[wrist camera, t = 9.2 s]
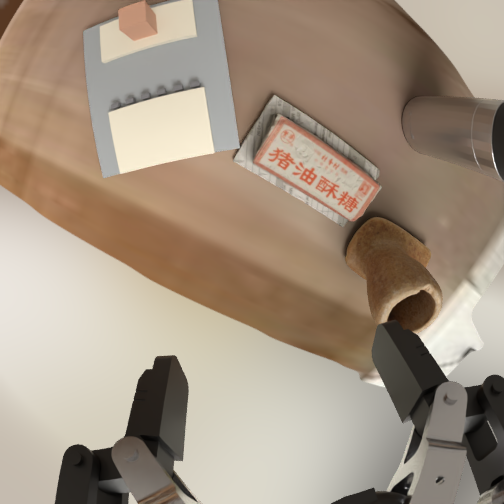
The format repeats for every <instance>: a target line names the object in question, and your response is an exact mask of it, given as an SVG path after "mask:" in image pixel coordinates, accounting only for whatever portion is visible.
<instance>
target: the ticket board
mask: <svg viewBox="0 0 504 504" xmlns="http://www.w3.org/2000/svg"><path fill="white" fill-rule="evenodd" d="M177 1H181V0H170V1H166V2H162V3H158V4H155V5H151V6H150V8H153V7H157V6H161V5H164V4H168V3H173V2H177ZM193 7H194V15H195V22H196V30H197V37H193V38H188V39H184V40H179V41H175V42H171V43H167V44H163V45H159V46H155V47H152V48H148V49H145V50H142V51H139V52H135V53H132V54H129V55H126V56H124V57H121V58H118V59H115V60H112V61H110V62H107V63H103V62H102V60H101V47H100V26H102V25H104V24H107V23H109V22H112V21H114V20H117V19H119V16H118V17H115V18H113V19H110V20H108V21H105V22H103V23H100V24H98V25H96V26H93V27H91V28H89V29H87V30H85V31H83V36H84V58H85V71H86V82H87V91H88V99H89V106H90V113H91V119H92V125H93V131H94V137H95V142H96V147H97V152H98V157H99V161H100V166H101V170H102V175H103V178H106V177H110V176H113V175H117V174H123V173H126V172H130V171H134V170H138V169H142V168H146V167H150V166H154V165H158V164H162V163H167V162H171V161H176V160H181V159H186V158H191V157H196V156H201V155H206V154H212V153H215V152H219V151H225V150H232V149H238V148H240V145H239V138H238V131H237V125H236V118H235V111H234V104H233V98H232V91H231V84H230V78H229V71H228V64H227V58H226V51H225V45H224V38H223V31H222V25H221V18H220V12H219V5H218V0H193Z"/></svg>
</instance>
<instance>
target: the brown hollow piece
mask: <svg viewBox="0 0 504 504" xmlns="http://www.w3.org/2000/svg"><path fill="white" fill-rule="evenodd" d="M430 257H431V251H430V250H429V249H428V248H427V247H426V246H425V245H424V244H422V243H421V242H420V241H419V240H418V239H416V238H415V237H413V236H412V235H410V234H409V233H408V232H406V231H405V230H403V229H402V228H401V227H399V226H397V225H396V224H394V223H392V222H391V221H389V220H387V219H384V218H380V217H373V218H370V219H369V220H367V221H366V222H365V223H364V224H363V225H362V226H361V227H360V228H359V229H358V230H357V232H356V233H355V234H354V236H353V238H352V239H351V241H350V243H349V245H348V248H347V255H346V257H345V261H346V263H347V265H348V266H349V267H350V268H351V269H352V270H353V271H354V272H356V273H357V274H358V275H360V276H361V277H362V278H364V279H366V280H367V293H368V301H369V306H370V310H371V314H372V317H373V319H374V321H375V322H376V324H377V326H378V324H381V323H385V322H388V321H392V320H397V321H398V322H399V324H400V325H401V326H402V328H403V329H404V330H406V329H409V330H411V331H412V332H414V333H415V334H416V333H419V332H421V331H423V330H424V329H426V328H427V327H429V326H430V325H431V324H432V323H433V322H434V320H435V319H436V318H437V317H438V315H439V312H440V310H441V308H442V300H443V299H442V291H441V289H440V286H439V285H438V283H437V282H436V281H435V279H434V278H433V277H432V275H431V274H430V273H429V271H428V270H427V269H426V268H425V267H426V266H427V264H428V262H429V260H430Z"/></svg>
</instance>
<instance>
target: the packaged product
mask: <svg viewBox="0 0 504 504" xmlns="http://www.w3.org/2000/svg"><path fill="white" fill-rule="evenodd" d="M233 162H235V163H237V164H239V165H241V166H242V167H244V168H246V169H247V170H249V171H251V172H253V173H255V174H256V175H258V176H260V177H262V178H263V179H265V180H267V181H269V182H270V183H272V184H274V185H276V186H277V187H279V188H281V189H282V190H284V191H286V192H288V193H289V194H291V195H292V196H294V197H296V198H297V199H299V200H302V201H304V202H305V203H306V204H307V205H309V206H311V207H312V208H313V209H315V210H317V211H318V212H320V213H322V214H323V215H325V216H327V217H328V218H330V219H331V220H333V221H334V222H336V223H337V224H339V225H340V226H342V227H344V225H345V224H346V223H347V221H348V220H349V221H352V222H353V221H356V220H357V219H358V218H359V217H361V216H363V214H364V212H365V210H366V209H367V207H368V206H369V204H370V203H371V202H372V201H373V200H374V198H375V197H376V195H377V193H378V192H379V191H380V189H381V188H382V186H381V185H380V184H379V183H378V182H377V181H376V179H377V178H378V177H379V169H378V168H377V167H376V166H374V165H373V164H372V163H371V162H369V161H368V160H367V159H366V158H364V157H363V156H362V155H361V154H359V153H358V152H357V151H356V150H354V149H353V148H352V147H350V146H349V145H348V144H346V143H345V142H344V141H343V140H341V139H340V138H339V137H337V136H336V135H335V134H333V133H332V132H330V131H329V130H328V129H326V128H325V127H323V126H322V125H320V124H319V123H317V122H316V121H314V120H313V119H311V118H310V117H309V116H307V115H306V114H304V113H303V112H301V111H299V110H298V109H296V108H295V107H293V106H292V105H290V104H289V103H287V102H285V101H283V100H282V99H280V98H279V97H277V96H276V95H274V96H273V97H272V98H271V100H270V101H269V102H268V103H267V105H266V106H265V108H264V110H263V112H262V114H261V115H260V117H259V119H258V120H257V122H256V123H255V124H254V126H253V127H252V128H251V130H250V131H249V133H248V135H247V136H246V138H245V139H244V141H243V142H242V144H241V146H240V148H239V150H238V152H237V154H236V156H235V158H234V160H233Z"/></svg>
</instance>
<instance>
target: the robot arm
mask: <svg viewBox="0 0 504 504" xmlns="http://www.w3.org/2000/svg"><path fill="white" fill-rule="evenodd" d="M402 126H403V131H404V135H405V137H406V139H407V141H408V143H409V144H410V146H411V147H412V148H413V149H414V150H415V151H417V152H419V153H421V154H425V155H428V156H431V157H435V158H438V159H441V160H444V161H447V162H450V163H454V164H457V165H460V166H463V167H465V168H468V169H471V170H474V171H477V172H479V173H482V174H485V175H487V176H490V177H493V178H495V179H497V180H500V181H502V182H504V101H503V100H495V99H483V98H471V97H450V96H419V97H415V98H413V99H411V100H410V101H409V102H408V103H407V105H406V106H405V109H404V111H403V117H402ZM372 359H373V362H374V364H375V366H376V368H377V370H378V372H379V374H380V376H381V378H382V380H383V382H384V385H385V387H386V388H387V391H388V393H389V395H390V397H391V399H392V401H393V403H394V405H395V408H396V410H397V412H398V414H399V416H400V418H401V421H402V423H405V422H407V421H410V420H412V422H413V424H414V425H413V427H412V430H411V433H410V437H409V440H408V443H407V446H406V449H405V452H404V455H403V458H402V461H401V464H400V466H399V468H398V470H397V471H396V473H395V475H394V476H393V478H392V480H391V482H390V485H389V487H388V489H387V491H377V492H375V489H374V488H372V489H368V490H366V491H362V492H360V493H356V494H353V495H349V496H346V497H343V498H341V499H340V500H338V501H335V502H333V503H331V504H454V501H455V497H456V494H457V490H458V487H459V483H460V480H461V476H462V472H463V468H464V463H465V458H466V456H467V459H468V461H469V464H470V467H471V469H472V472H473V475H474V478H475V481H476V484H477V487H478V489H479V493H480V498H479V500H478V503H477V504H504V378H503V377H501V376H499V375H491V376H489V377H487V378H486V379H485V381H484V383H483V384H482V385H478V386H472V387H465V388H464V387H463V386H462V385H460V384H459V383H457V382H453V381H449V380H448V379H447V378H446V376H445V375H444V373H443V372H442V370H441V369H440V367H439V366H438V364H437V363H436V361H435V360H434V358H433V357H432V355H431V354H429V351H428V349H427V348H426V346H424V343H423V342H422V341H421V339H420V338H419V336H418V335H416V334H415V333H414V332H412V331H411V330H409V329H406V330H404V329H403V328H402V326H401V325H400V324H399V322H398V321H397V320H392V321H388V322H385V323H381V324H378V326H377V329H376V334H375V338H374V343H373V347H372ZM187 402H188V382H187V379H186V376H185V375H184V372H183V370H182V368H181V366H180V363H179V361H178V359H177V357H176V356H173V355H172V356H157V357H156V358H155V361H154V365H153V369H147V370H145V371H144V373H143V374H142V376H141V377H140V378H139V380H138V384H137V388H136V393H135V396H134V401H133V404H132V408H131V413H130V417H129V421H128V426H127V430H126V434H125V436H124V438H122V439H120V440H118V441H117V442H116V443H115V444H114V446H113V447H111V448H106V449H100V450H93V451H91V450H89V449H88V448H87V447H85V446H83V445H79V444H77V445H73V446H71V447H69V448H68V449H67V450H66V452H65V453H64V456H63V460H62V465H61V470H60V475H59V481H58V487H57V493H56V500H55V504H128V497H129V492H131V493H132V495H133V496H134V498H135V499H136V501H137V503H138V504H202V503H201V502H200V501H199V500H198V499H197V498H196V496H195V495H194V494H193V493H192V492H191V491H190V489H189V488H188V487H187V486H186V485H185V484H184V482H183V481H182V480H181V478H180V477H179V476H178V475H177V473H176V472H175V471H174V470H173V466H174V461H175V460H176V461H183V451H184V438H185V425H186V413H187ZM487 421H489V423H490V425H491V427H492V429H493V431H494V433H495V435H496V438H497V441H498V444H497V442H496V439H495V437H494V435H493V433H492V431H491V429H490V427H489V425H488V422H487Z"/></svg>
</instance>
